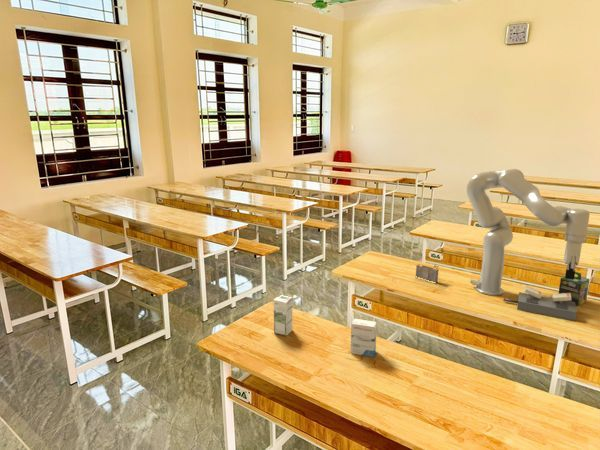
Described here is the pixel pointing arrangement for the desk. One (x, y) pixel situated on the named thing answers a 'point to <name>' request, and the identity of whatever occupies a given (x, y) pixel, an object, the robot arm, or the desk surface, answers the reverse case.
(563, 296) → the block
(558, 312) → the power strip
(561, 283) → the chalk box
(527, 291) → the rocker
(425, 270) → the architectural model on board
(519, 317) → the desk surface
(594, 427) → the desk surface
